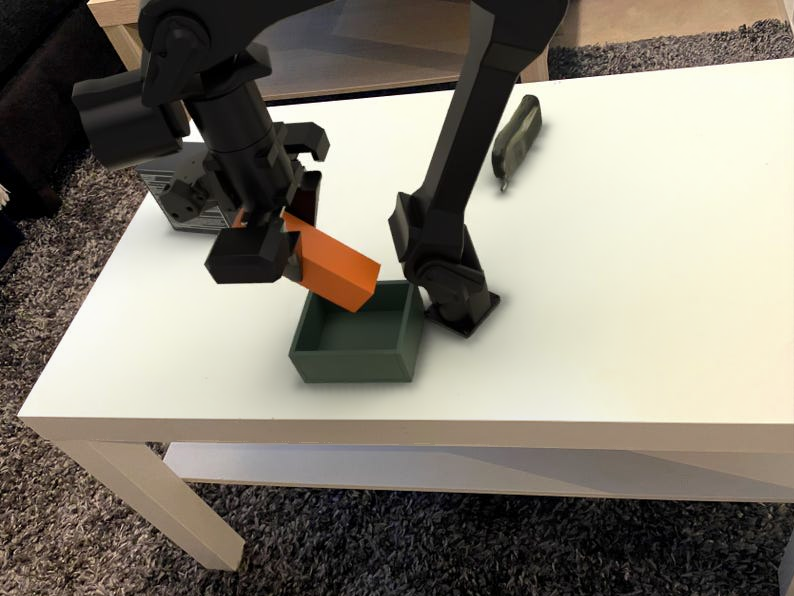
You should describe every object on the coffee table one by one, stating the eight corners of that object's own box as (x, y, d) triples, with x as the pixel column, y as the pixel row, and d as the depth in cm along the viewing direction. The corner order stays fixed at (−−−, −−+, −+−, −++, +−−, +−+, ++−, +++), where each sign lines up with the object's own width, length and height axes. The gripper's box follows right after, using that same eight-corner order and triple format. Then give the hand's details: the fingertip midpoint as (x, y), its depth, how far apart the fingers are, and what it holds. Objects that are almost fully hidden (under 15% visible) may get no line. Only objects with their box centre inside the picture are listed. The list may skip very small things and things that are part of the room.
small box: (260, 203, 100) (227, 140, 92) (238, 237, 97) (202, 173, 89) (195, 199, 103) (157, 137, 95) (172, 231, 100) (131, 169, 92)
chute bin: (426, 308, 84) (415, 278, 80) (412, 382, 78) (400, 353, 74) (325, 311, 86) (310, 282, 82) (304, 383, 80) (287, 355, 76)
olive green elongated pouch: (521, 90, 98) (481, 159, 90) (542, 91, 97) (504, 161, 89) (525, 122, 102) (487, 191, 94) (546, 124, 101) (509, 193, 93)
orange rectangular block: (381, 264, 74) (252, 192, 68) (373, 294, 72) (238, 222, 66) (362, 284, 77) (236, 216, 71) (354, 313, 74) (223, 245, 68)
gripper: (188, 73, 67) (255, 204, 79) (104, 212, 56) (197, 339, 68) (302, 63, 65) (353, 199, 77) (238, 206, 54) (309, 338, 66)
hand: (303, 264), depth 72 cm, fingers closed on orange rectangular block, 4 cm apart
